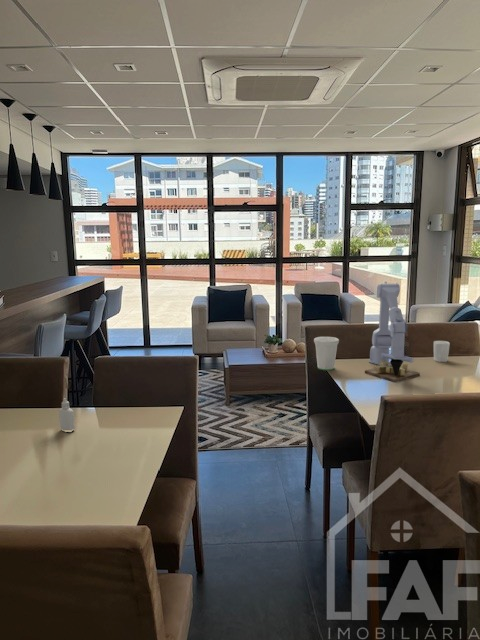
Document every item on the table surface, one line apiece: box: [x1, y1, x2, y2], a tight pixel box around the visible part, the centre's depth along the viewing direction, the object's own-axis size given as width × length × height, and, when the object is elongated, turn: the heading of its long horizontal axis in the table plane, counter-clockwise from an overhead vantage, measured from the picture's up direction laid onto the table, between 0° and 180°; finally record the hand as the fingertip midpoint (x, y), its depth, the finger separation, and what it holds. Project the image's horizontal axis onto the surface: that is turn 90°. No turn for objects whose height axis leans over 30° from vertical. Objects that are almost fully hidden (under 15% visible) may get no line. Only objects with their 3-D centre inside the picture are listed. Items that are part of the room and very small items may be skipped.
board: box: [364, 364, 421, 383], centre depth 220 cm, size 18×18×5 cm
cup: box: [313, 336, 340, 371], centre depth 231 cm, size 12×12×15 cm
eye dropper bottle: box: [58, 397, 76, 430], centre depth 160 cm, size 4×6×12 cm
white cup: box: [433, 340, 451, 363], centre depth 243 cm, size 8×8×10 cm
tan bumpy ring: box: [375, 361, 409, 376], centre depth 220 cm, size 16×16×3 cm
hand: (396, 375), depth 213 cm, fingers closed
